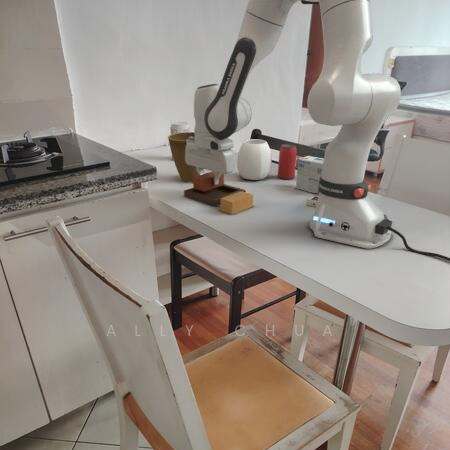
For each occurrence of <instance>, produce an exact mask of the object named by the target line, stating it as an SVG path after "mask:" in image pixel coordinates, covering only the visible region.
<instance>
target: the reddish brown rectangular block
mask: <svg viewBox="0 0 450 450" xmlns="http://www.w3.org/2000/svg"><path fill="white" fill-rule="evenodd" d="M214 178H215V175H214V171H209V172H205V173H204V174H202V175H198V176H194V177H193V182H192V184H193V187H192V188H194V189H197V190H200V191H203V192H204V191H207V190H210V189H213V188H217V187H220V186H223V185H224V184H225V174H221V176H220V178H219V184H217V185H215V184H212V179H214Z"/></svg>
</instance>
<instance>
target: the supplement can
mask: <svg viewBox="0 0 450 450" xmlns="http://www.w3.org/2000/svg"><path fill="white" fill-rule="evenodd" d="M169 130H170V135H172V134H176V133H184V132H191V131H190V125H189V123H188V122H186V121H175V122H172V123H171V125H170V129H169ZM171 158H172V159H173V156H172V155H171Z"/></svg>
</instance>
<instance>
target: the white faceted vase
mask: <svg viewBox="0 0 450 450" xmlns="http://www.w3.org/2000/svg"><path fill="white" fill-rule="evenodd" d="M272 157H273V155H272V151H271V148H270V145H269V144H268V142H267V140H264V139H258V138H257V139H256V138H255V139H252V138H251V139H245V140H244V141H243V142H242V143H241V146H240V148H239V150H238V154H237V158H236V159H237V160H236V169H237V171H238V174H239V175H240V176H241V177H242V179H245V180H249V181H260V180H264V179H265V178H267V177H268V176H269V174H270V172H271V170H272V162H273V161H272V160H273V159H272Z"/></svg>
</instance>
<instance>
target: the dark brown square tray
mask: <svg viewBox="0 0 450 450" xmlns="http://www.w3.org/2000/svg"><path fill="white" fill-rule="evenodd" d="M241 191H242V192H246V189H244V188H240V187H237V186H233V185H229V184H225V183H224V185H223V186H220V187H217V188H213V189H210V190H207V191H204V192H203V191H200V190H197V189H194V188H193V187H191V188H188V189H183V197H185V198H188V199H190V200H193V201H197V202H200V203H203V204H206V205H209V206H212V207H214V208H216V207H220V206H221V204H220V199H221V198H223V197H226V196H229V195H232V194H235V193H238V192H241ZM246 193H247V192H246Z"/></svg>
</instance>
